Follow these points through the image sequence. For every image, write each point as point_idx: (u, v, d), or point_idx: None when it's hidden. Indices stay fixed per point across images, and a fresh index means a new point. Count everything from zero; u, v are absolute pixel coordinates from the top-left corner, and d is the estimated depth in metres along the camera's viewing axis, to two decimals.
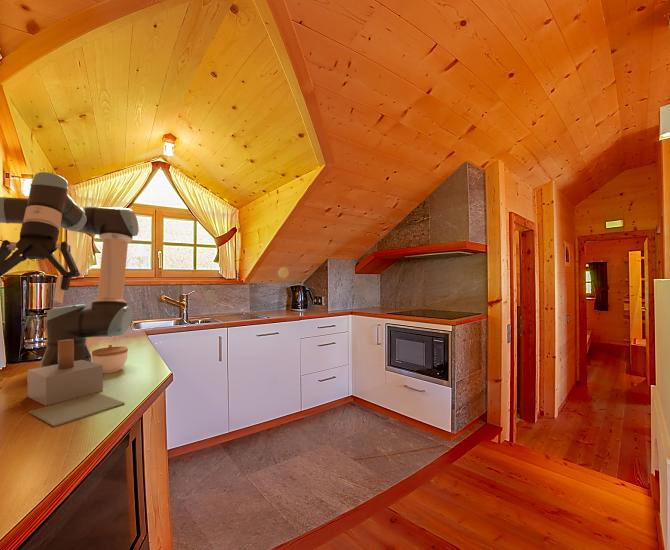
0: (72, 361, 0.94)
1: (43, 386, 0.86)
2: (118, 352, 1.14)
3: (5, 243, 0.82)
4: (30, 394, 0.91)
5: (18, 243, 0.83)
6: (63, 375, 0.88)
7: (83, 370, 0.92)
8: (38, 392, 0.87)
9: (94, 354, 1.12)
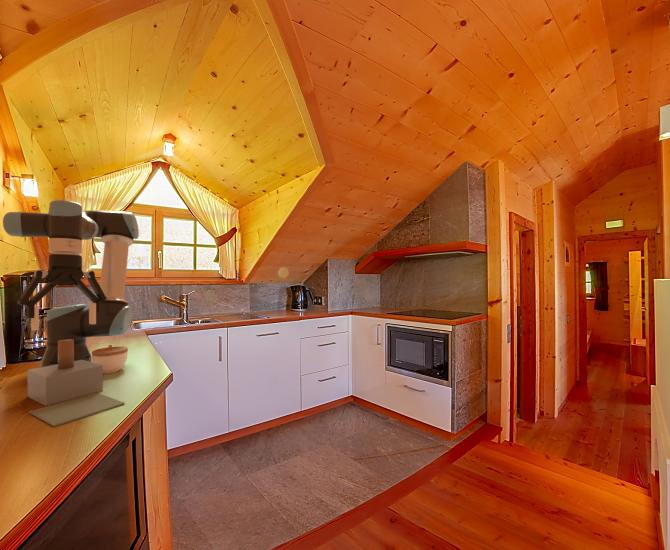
0: (72, 361, 0.94)
1: (43, 386, 0.86)
2: (118, 352, 1.14)
3: (40, 273, 0.88)
4: (30, 394, 0.91)
5: (52, 273, 0.90)
6: (63, 375, 0.88)
7: (83, 370, 0.92)
8: (38, 392, 0.87)
9: (94, 354, 1.12)
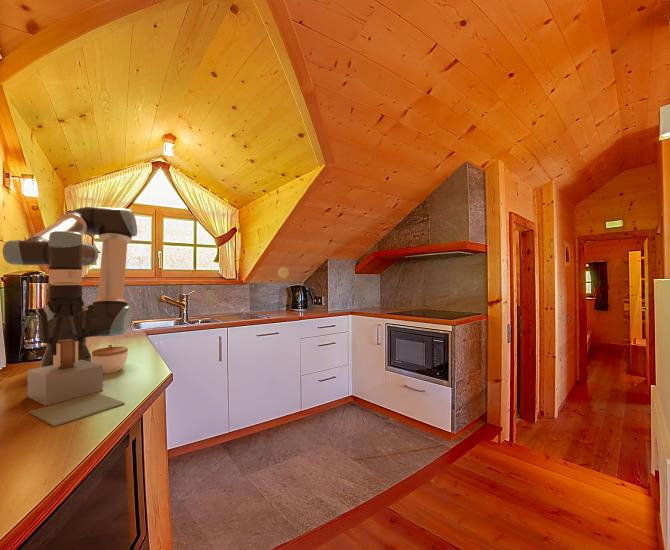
0: (72, 361, 0.94)
1: (43, 386, 0.86)
2: (118, 352, 1.14)
3: (42, 311, 0.89)
4: (30, 394, 0.91)
5: (52, 305, 0.91)
6: (63, 375, 0.88)
7: (83, 370, 0.92)
8: (38, 392, 0.87)
9: (94, 354, 1.12)
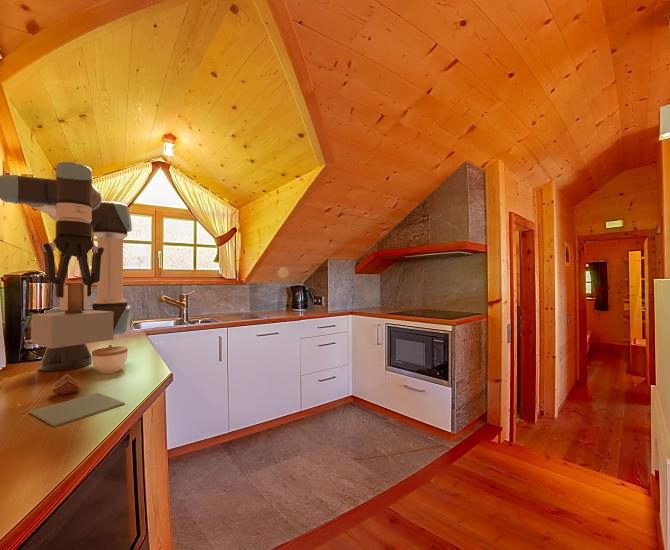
0: (80, 306, 0.86)
1: (49, 327, 0.77)
2: (118, 352, 1.14)
3: (48, 247, 0.80)
4: (34, 340, 0.82)
5: (59, 242, 0.82)
6: (71, 317, 0.80)
7: (92, 314, 0.84)
8: (44, 335, 0.79)
9: (94, 354, 1.12)
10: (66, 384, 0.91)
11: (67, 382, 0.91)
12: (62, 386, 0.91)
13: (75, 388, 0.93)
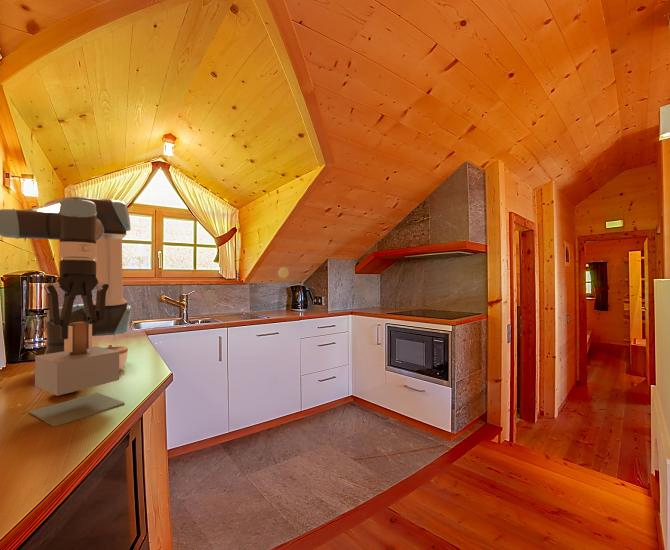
0: (85, 346, 0.83)
1: (53, 373, 0.75)
2: None
3: (52, 288, 0.78)
4: (38, 383, 0.80)
5: (63, 282, 0.80)
6: (76, 361, 0.77)
7: (98, 356, 0.81)
8: (48, 380, 0.77)
9: None
10: None
11: None
12: None
13: None
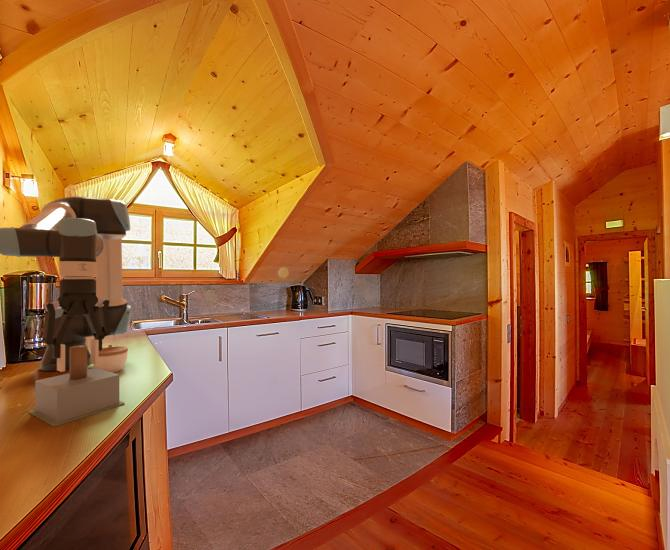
0: (85, 370, 0.83)
1: (54, 400, 0.75)
2: (118, 352, 1.14)
3: (51, 307, 0.78)
4: (38, 408, 0.80)
5: (63, 302, 0.80)
6: (76, 387, 0.77)
7: (98, 381, 0.81)
8: (48, 406, 0.77)
9: None
10: None
11: None
12: None
13: None
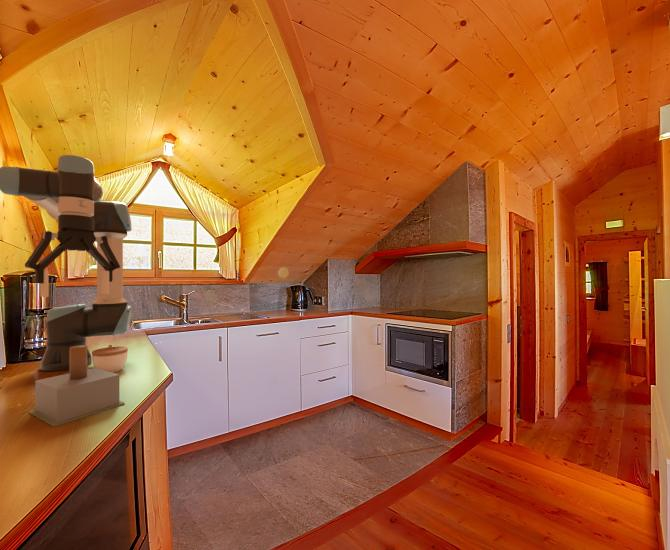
0: (85, 370, 0.83)
1: (54, 400, 0.75)
2: (118, 352, 1.14)
3: (49, 235, 0.80)
4: (38, 408, 0.80)
5: (62, 235, 0.82)
6: (76, 387, 0.77)
7: (98, 381, 0.81)
8: (48, 406, 0.77)
9: (94, 354, 1.12)
10: None
11: None
12: None
13: None
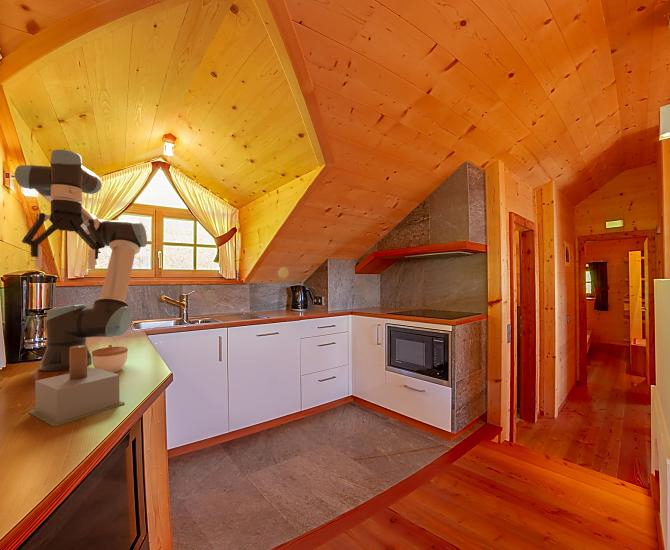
0: (85, 370, 0.83)
1: (54, 400, 0.75)
2: (118, 352, 1.14)
3: (43, 216, 0.95)
4: (38, 408, 0.80)
5: (54, 217, 0.97)
6: (76, 387, 0.77)
7: (98, 381, 0.81)
8: (48, 406, 0.77)
9: (94, 354, 1.12)
10: None
11: None
12: None
13: None
